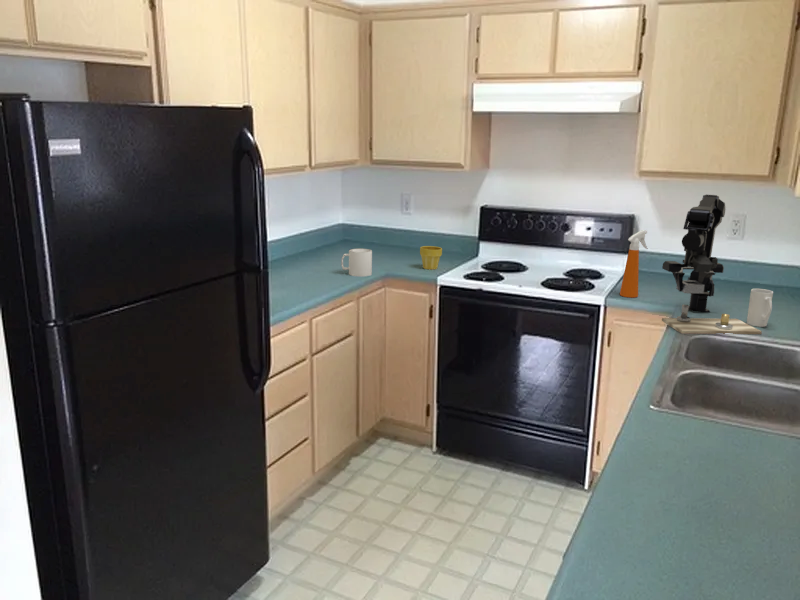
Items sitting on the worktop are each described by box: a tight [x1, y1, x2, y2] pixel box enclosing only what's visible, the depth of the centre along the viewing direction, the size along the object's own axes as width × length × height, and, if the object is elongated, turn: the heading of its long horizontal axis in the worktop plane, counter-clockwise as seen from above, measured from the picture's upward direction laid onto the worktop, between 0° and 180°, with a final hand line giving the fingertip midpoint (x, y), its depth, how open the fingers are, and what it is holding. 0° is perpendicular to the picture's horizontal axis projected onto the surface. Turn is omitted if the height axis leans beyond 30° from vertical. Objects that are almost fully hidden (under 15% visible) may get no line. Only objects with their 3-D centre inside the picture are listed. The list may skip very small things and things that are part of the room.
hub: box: [715, 313, 733, 330], centre depth 219 cm, size 5×5×4 cm
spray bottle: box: [619, 229, 649, 299], centre depth 263 cm, size 7×11×26 cm, turn 117°
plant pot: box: [419, 245, 443, 270], centre depth 308 cm, size 10×10×10 cm
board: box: [661, 317, 762, 335], centre depth 223 cm, size 15×27×1 cm, turn 93°
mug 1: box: [340, 248, 373, 277], centre depth 292 cm, size 14×10×11 cm
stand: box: [676, 304, 692, 322], centre depth 227 cm, size 4×4×6 cm
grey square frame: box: [675, 279, 704, 294], centre depth 224 cm, size 6×6×3 cm
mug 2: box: [746, 288, 774, 328], centre depth 225 cm, size 10×7×12 cm, turn 1°
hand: (689, 291), depth 224 cm, fingers closed on grey square frame, 6 cm apart
